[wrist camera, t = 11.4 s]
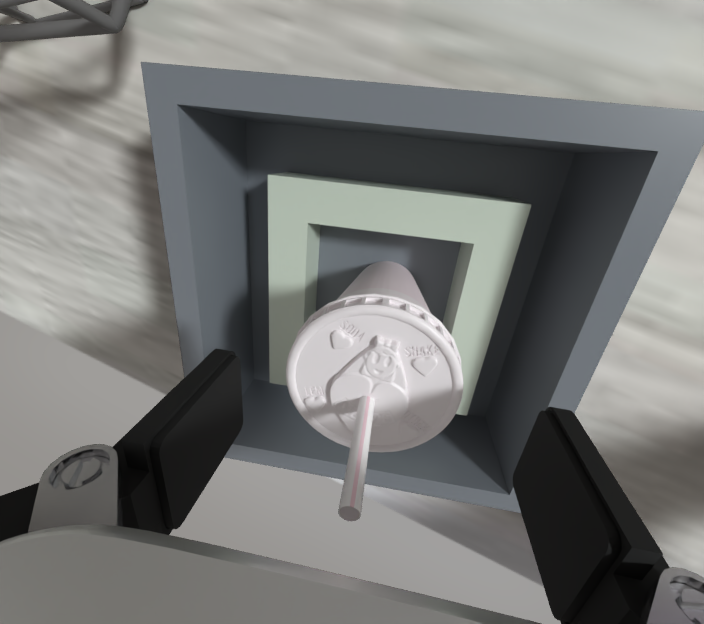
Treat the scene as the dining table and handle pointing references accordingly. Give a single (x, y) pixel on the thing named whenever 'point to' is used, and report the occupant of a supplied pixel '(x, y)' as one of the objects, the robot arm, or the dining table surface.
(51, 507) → the robot arm
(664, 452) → the dining table surface
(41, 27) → the geometric lantern
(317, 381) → the smoothie
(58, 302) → the dining table surface
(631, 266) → the bin
